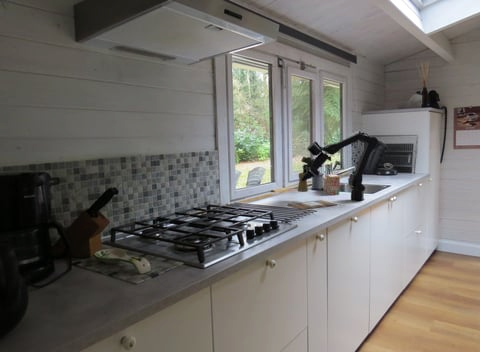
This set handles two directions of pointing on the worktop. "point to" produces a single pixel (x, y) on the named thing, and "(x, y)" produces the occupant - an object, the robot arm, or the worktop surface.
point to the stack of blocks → (331, 184)
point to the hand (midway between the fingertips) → (300, 180)
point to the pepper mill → (302, 183)
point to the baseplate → (312, 204)
